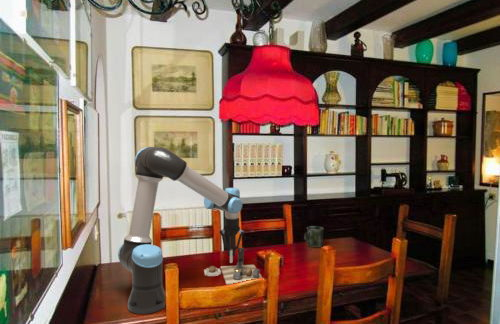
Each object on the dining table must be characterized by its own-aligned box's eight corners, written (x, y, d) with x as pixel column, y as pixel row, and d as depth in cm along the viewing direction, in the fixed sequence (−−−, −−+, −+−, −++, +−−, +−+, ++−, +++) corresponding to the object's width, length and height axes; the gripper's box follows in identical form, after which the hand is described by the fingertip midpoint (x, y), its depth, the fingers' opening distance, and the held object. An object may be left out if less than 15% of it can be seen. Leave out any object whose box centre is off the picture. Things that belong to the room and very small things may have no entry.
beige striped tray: (264, 283, 164) (264, 273, 164) (226, 286, 161) (226, 275, 161) (253, 267, 187) (253, 258, 187) (220, 269, 183) (220, 259, 183)
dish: (221, 277, 172) (221, 273, 172) (204, 278, 170) (204, 274, 170) (219, 271, 180) (219, 267, 180) (203, 272, 178) (203, 268, 178)
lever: (243, 279, 164) (243, 259, 164) (233, 279, 165) (233, 259, 164) (246, 265, 184) (246, 247, 183) (237, 265, 184) (237, 247, 184)
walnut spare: (216, 274, 174) (216, 266, 173) (209, 274, 173) (209, 267, 173) (215, 271, 177) (215, 264, 177) (208, 271, 176) (208, 264, 176)
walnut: (254, 271, 169) (249, 265, 171) (248, 276, 168) (244, 270, 169) (253, 273, 172) (248, 268, 174) (247, 278, 171) (243, 272, 172)
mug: (327, 246, 228) (327, 228, 227) (310, 250, 220) (310, 231, 219) (315, 242, 237) (316, 225, 236) (299, 245, 229) (299, 227, 229)
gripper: (244, 216, 185) (244, 260, 186) (220, 215, 185) (220, 259, 187) (243, 219, 177) (242, 265, 179) (218, 218, 178) (218, 263, 179)
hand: (231, 261), depth 183 cm, fingers closed
